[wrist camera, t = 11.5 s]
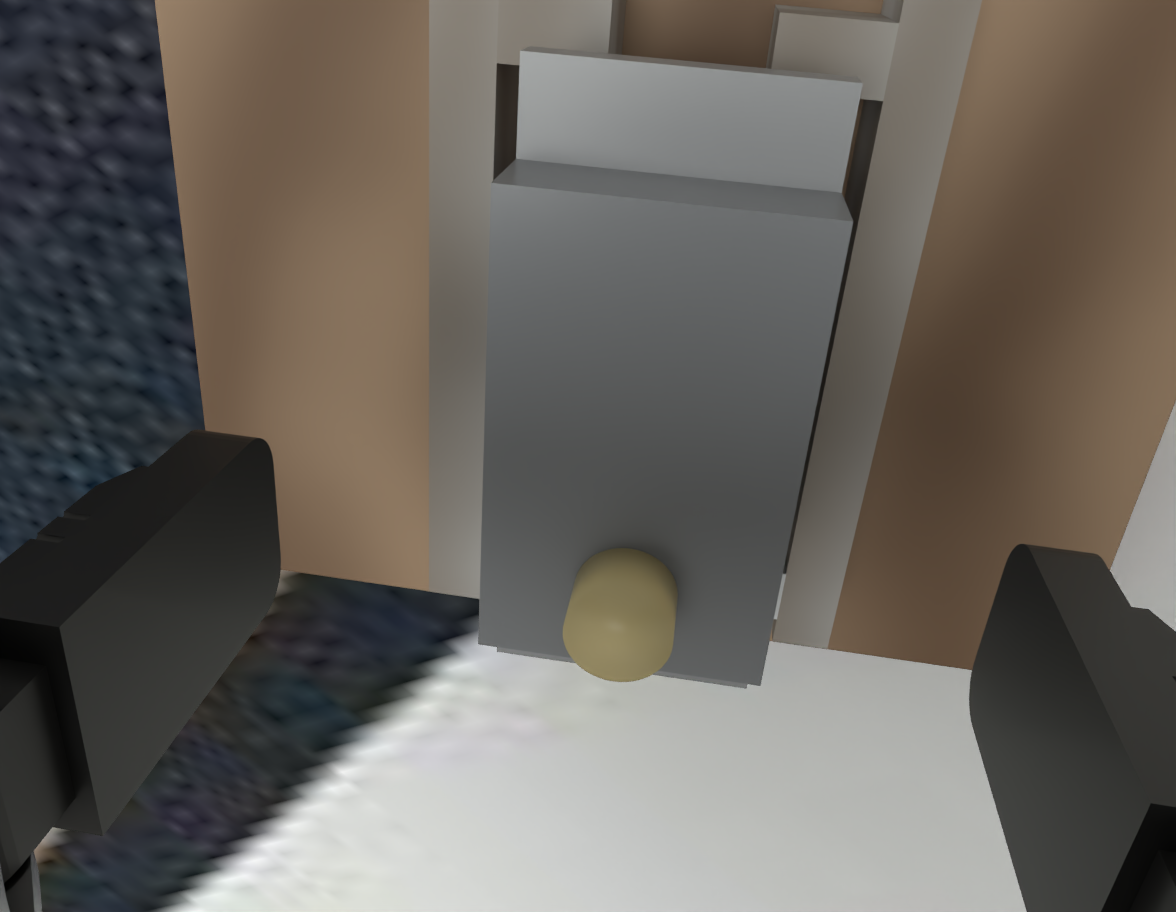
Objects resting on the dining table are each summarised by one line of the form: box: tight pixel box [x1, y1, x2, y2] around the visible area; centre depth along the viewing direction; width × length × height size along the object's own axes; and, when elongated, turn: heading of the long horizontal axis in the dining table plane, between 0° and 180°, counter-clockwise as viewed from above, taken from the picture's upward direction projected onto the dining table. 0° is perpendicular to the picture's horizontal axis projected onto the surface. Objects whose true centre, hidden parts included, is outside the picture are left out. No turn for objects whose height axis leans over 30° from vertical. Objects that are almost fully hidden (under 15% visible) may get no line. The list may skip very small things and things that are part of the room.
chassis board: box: [155, 0, 1176, 670], centre depth 17 cm, size 18×14×3 cm
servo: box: [478, 46, 863, 688], centre depth 15 cm, size 4×9×7 cm, turn 176°
